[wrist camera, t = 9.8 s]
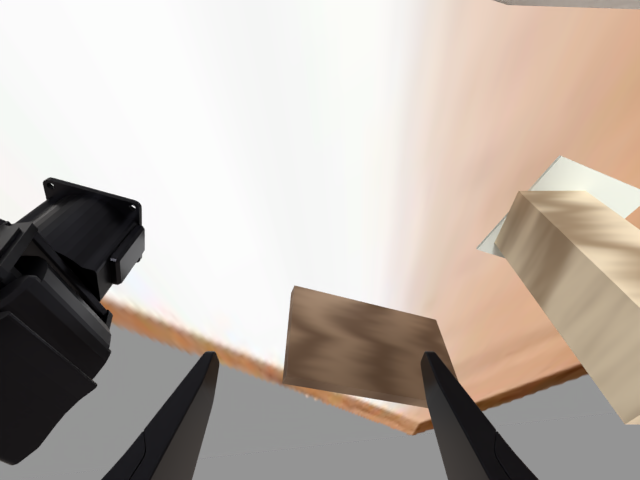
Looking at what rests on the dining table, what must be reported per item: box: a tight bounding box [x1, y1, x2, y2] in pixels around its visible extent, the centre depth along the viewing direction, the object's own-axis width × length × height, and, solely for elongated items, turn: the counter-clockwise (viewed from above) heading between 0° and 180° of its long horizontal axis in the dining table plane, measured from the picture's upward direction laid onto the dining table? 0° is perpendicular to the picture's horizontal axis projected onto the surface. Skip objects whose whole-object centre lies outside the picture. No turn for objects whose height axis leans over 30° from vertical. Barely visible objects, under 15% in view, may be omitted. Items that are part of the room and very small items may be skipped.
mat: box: [476, 155, 640, 258], centre depth 24 cm, size 9×9×1 cm
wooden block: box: [494, 191, 640, 424], centre depth 19 cm, size 5×5×14 cm
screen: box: [282, 285, 459, 408], centre depth 28 cm, size 16×1×9 cm, turn 70°
